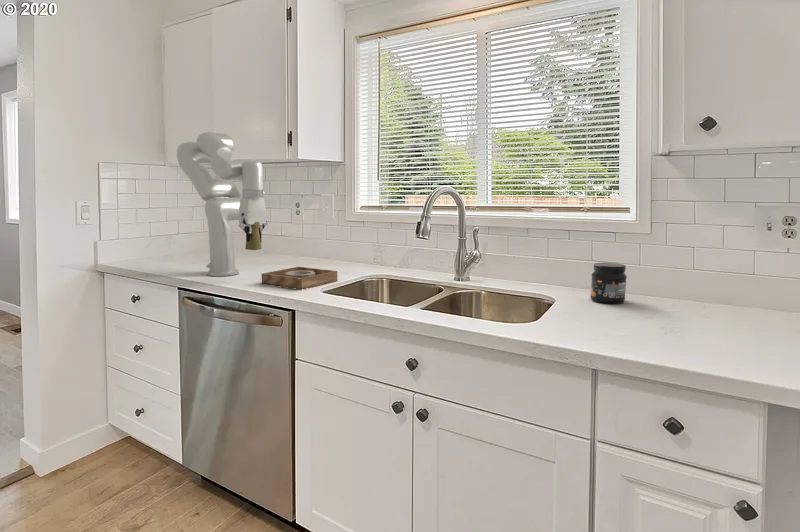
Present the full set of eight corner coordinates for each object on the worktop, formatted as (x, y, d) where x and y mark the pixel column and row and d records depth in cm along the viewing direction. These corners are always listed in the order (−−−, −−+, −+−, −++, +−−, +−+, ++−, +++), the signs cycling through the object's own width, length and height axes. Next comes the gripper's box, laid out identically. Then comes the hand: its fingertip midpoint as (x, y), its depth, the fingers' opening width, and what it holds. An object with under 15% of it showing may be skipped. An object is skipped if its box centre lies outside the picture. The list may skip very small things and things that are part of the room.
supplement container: (590, 296, 175) (592, 261, 173) (624, 299, 171) (627, 263, 169) (589, 303, 165) (591, 265, 164) (625, 306, 162) (628, 268, 160)
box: (261, 284, 195) (261, 273, 194) (298, 276, 211) (298, 266, 211) (302, 290, 184) (301, 278, 184) (337, 281, 201) (337, 271, 200)
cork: (251, 247, 202) (251, 218, 200) (264, 248, 200) (264, 219, 198) (241, 249, 197) (241, 220, 195) (255, 250, 195) (254, 221, 193)
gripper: (262, 193, 204) (263, 240, 207) (228, 194, 190) (229, 244, 193) (276, 194, 200) (276, 241, 203) (242, 195, 186) (243, 246, 190)
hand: (253, 242), depth 198 cm, fingers closed on cork, 3 cm apart
